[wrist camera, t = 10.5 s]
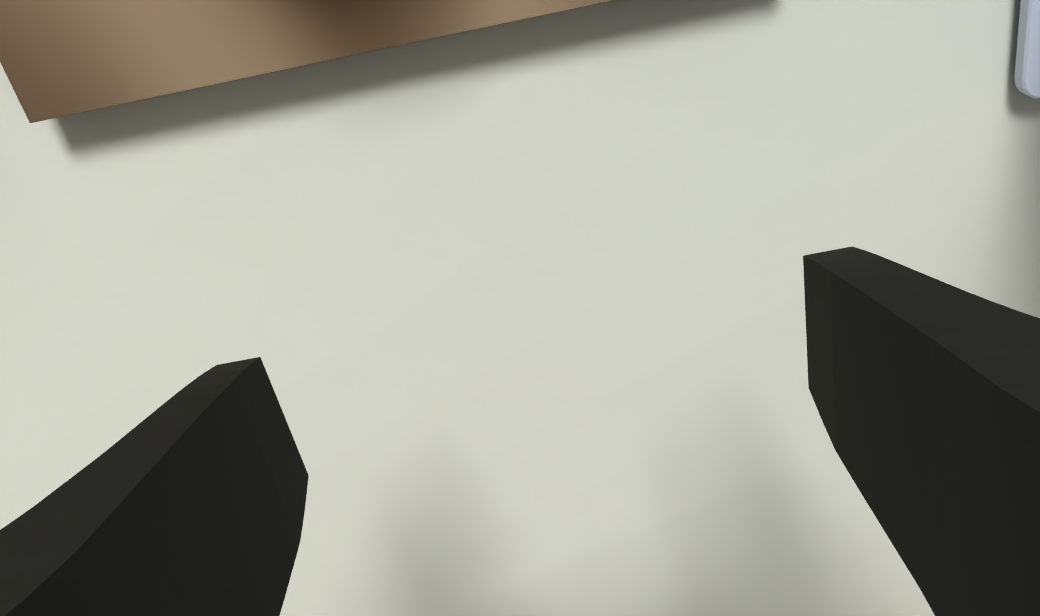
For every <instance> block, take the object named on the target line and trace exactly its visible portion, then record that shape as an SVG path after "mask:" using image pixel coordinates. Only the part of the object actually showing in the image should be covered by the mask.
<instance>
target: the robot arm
mask: <svg viewBox="0 0 1040 616" xmlns="http://www.w3.org/2000/svg"><path fill="white" fill-rule="evenodd" d="M1015 85H1016V87H1017V88H1018V90H1019V91H1020V92H1021V93H1024V94H1026V95H1028V96H1030V97H1032V98H1034V99H1040V0H1021V4H1020V16H1019V28H1018V41H1017V53H1016V65H1015ZM803 263H804V287H805V310H806V334H807V358H808V382H809V390H810V392H811V394H812V397H813V399H814V402H815V404H816V406H817V409H818V411H819V414H820V416H821V419H822V421H823V423H824V426H825V428H826V430H827V432H828V435H829V437H830V439H831V441H832V444H833V446H834V448H835V450H836V452H837V454H838V455H839V457H840V459H841V460H842V462H843V464H844V465H845V467H846V469H847V470H848V472H849V474H850V475H851V477H852V479H853V480H854V482H855V484H856V485H857V487H858V489H859V490H860V492H861V493H862V495H863V497H864V498H865V500H866V502H867V503H868V505H869V507H870V508H871V510H872V511H873V513H874V515H875V516H876V518H877V519H878V521H879V523H880V524H881V526H882V528H883V529H884V531H885V532H886V534H887V536H888V537H889V539H890V541H891V542H892V544H893V545H894V547H895V549H896V550H897V552H898V554H899V555H900V557H901V558H902V560H903V562H904V563H905V565H906V567H907V568H908V570H909V571H910V573H911V575H912V576H913V578H914V579H915V581H916V583H917V584H918V586H919V588H920V589H921V591H922V593H923V595H924V596H925V598H926V600H927V602H928V604H929V605H930V607H931V609H932V611H933V613H934V614H935V616H1040V319H1039V318H1037V317H1034V316H1031V315H1028V314H1025V313H1022V312H1019V311H1016V310H1013V309H1011V308H1008V307H1005V306H1003V305H1000V304H997V303H995V302H992V301H989V300H987V299H984V298H981V297H979V296H976V295H974V294H971V293H969V292H966V291H964V290H961V289H959V288H956V287H954V286H951V285H949V284H946V283H944V282H942V281H939V280H937V279H934V278H932V277H929V276H927V275H925V274H922V273H920V272H917V271H915V270H913V269H910V268H908V267H905V266H903V265H901V264H898V263H896V262H893V261H891V260H888V259H886V258H883V257H881V256H878V255H876V254H873V253H870V252H867V251H865V250H861V249H858V248H855V247H847V248H842V249H837V250H831V251H826V252H821V253H815V254H810V255H805V256H803ZM307 484H308V473H307V471H306V468H305V466H304V463H303V461H302V459H301V456H300V454H299V451H298V449H297V446H296V444H295V441H294V439H293V436H292V434H291V431H290V429H289V427H288V424H287V422H286V419H285V417H284V414H283V412H282V409H281V407H280V404H279V402H278V400H277V397H276V395H275V392H274V390H273V387H272V385H271V382H270V380H269V377H268V375H267V372H266V370H265V368H264V365H263V363H262V360H261V358H260V357H258V358H252V359H247V360H242V361H236V362H231V363H226V364H220V365H216V366H215V367H213V368H211V369H210V370H208V371H206V372H205V373H203V374H202V375H201V376H199V377H198V378H196V379H195V380H194V381H192V382H191V383H190V384H188V385H187V386H186V387H184V388H183V389H182V390H181V391H179V392H178V393H177V394H176V395H174V396H173V397H172V398H171V399H169V400H168V401H167V402H166V403H164V404H163V405H162V406H161V407H159V408H158V409H157V410H156V411H155V412H153V413H152V414H151V415H150V416H148V417H147V418H146V419H145V420H144V421H142V422H141V423H140V424H139V425H137V426H136V427H135V428H134V429H133V430H131V431H130V432H129V433H128V434H126V435H125V436H124V437H123V438H122V439H120V440H119V441H118V442H117V443H115V444H114V445H113V446H112V447H111V448H109V449H108V450H107V451H106V452H104V453H103V454H102V455H101V456H99V457H98V458H97V459H95V460H94V461H93V462H92V463H90V464H89V465H88V466H86V467H85V468H84V469H82V470H81V471H80V472H78V473H77V474H76V475H75V476H73V477H72V478H71V479H69V480H68V481H67V482H65V483H64V484H63V485H61V486H60V487H59V488H58V489H56V490H55V491H54V492H52V493H51V494H50V495H48V496H47V497H46V498H44V499H43V500H42V501H41V502H39V503H38V504H37V505H35V506H34V507H32V508H31V509H30V510H28V511H27V512H25V513H24V514H23V515H21V516H20V517H18V518H17V519H16V520H14V521H13V522H11V523H10V524H8V525H7V526H5V527H4V528H3V529H1V530H0V616H279V615H280V612H281V608H282V605H283V601H284V598H285V594H286V591H287V587H288V584H289V580H290V576H291V573H292V569H293V566H294V562H295V558H296V555H297V551H298V547H299V543H300V538H301V531H302V525H303V518H304V511H305V502H306V493H307Z"/></svg>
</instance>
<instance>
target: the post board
mask: <svg viewBox="0 0 1040 616" xmlns="http://www.w3.org/2000/svg"><path fill="white" fill-rule="evenodd" d="M606 1H611V0H0V62H1V64H2V66H3V68H4V70H5V73H6V75H7V77H8V79H9V81H10V83H11V85H12V87H13V89H14V91H15V93H16V95H17V97H18V99H19V101H20V103H21V106H22V108H23V110H24V112H25V114H26V116H27V118H28V120H29V122H30V123H33V122H38V121H43V120H47V119H52V118H57V117H62V116H66V115H71V114H76V113H81V112H85V111H90V110H95V109H100V108H104V107H109V106H114V105H118V104H123V103H128V102H133V101H137V100H142V99H147V98H152V97H156V96H161V95H166V94H171V93H175V92H180V91H185V90H190V89H194V88H199V87H204V86H208V85H213V84H218V83H223V82H227V81H232V80H237V79H242V78H246V77H251V76H256V75H261V74H265V73H270V72H275V71H280V70H284V69H289V68H294V67H298V66H303V65H308V64H313V63H317V62H322V61H327V60H332V59H336V58H341V57H346V56H351V55H355V54H360V53H365V52H370V51H374V50H379V49H384V48H389V47H393V46H398V45H403V44H407V43H412V42H417V41H422V40H426V39H431V38H436V37H441V36H445V35H450V34H455V33H460V32H464V31H469V30H474V29H479V28H483V27H488V26H493V25H497V24H502V23H507V22H512V21H516V20H521V19H526V18H531V17H535V16H540V15H545V14H550V13H554V12H559V11H564V10H569V9H573V8H578V7H583V6H588V5H592V4H597V3H602V2H606Z"/></svg>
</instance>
